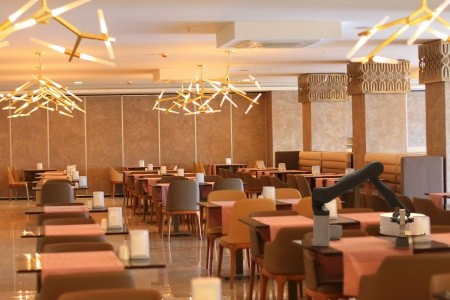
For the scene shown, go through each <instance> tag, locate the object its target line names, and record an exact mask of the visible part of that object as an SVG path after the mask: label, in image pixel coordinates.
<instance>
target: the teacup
mask: <svg viewBox="0 0 450 300" xmlns="http://www.w3.org/2000/svg"><path fill="white" fill-rule="evenodd" d="M342 235H343V225H342V224H341V225H340V224H330V240H339V239H340V238H341V237H342Z"/></svg>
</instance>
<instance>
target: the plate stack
mask: <svg viewBox="0 0 450 300" xmlns="http://www.w3.org/2000/svg"><path fill="white" fill-rule="evenodd" d="M393 213H394V212H387V213H386V212H385V213H380V214H379V221H380V222H379V233H380V234H382V235H385V236H395V237H396V236H400V225H399V224H397V223H393V222H390V217H392V214H393ZM413 216H425V217H426V215H425V214H422V213H415V212H410V217H413ZM410 217H409V218H410ZM408 224H409V222H408V223H407V224H406V225H405V230H408Z"/></svg>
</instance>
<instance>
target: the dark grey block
mask: <svg viewBox="0 0 450 300" xmlns="http://www.w3.org/2000/svg"><path fill="white" fill-rule="evenodd" d="M409 237H410V236H405V237H400V236H395V242H394V249H401V250H404V249H408V250H409V249H410V248H411V247H410V239H409Z"/></svg>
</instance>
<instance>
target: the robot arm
mask: <svg viewBox="0 0 450 300" xmlns="http://www.w3.org/2000/svg"><path fill="white" fill-rule="evenodd" d="M384 166H385V165H384V164H383V163H382V162H381V161H378V160H374V161H371V162H369V163H367V164H365V165H364V166H363V167H362V168H360V169H357V170H355V171H352V172H349V173H347V174H345V175H343V176H341V177H340V178H339V179H338V181H337V182H336V183H335V184H333V185H330V186H327V187H326V186H324V187H323V186H316V187H314V188H313V190H312V192H311V209H312V212H313V217H312V218H313V223H312V224H313V229H312V230H313V231H312V232H313V233H312V234H313V235H312V236H313V239H312V244H313V245H312V246H313V247H314V246H315V247H329V246H330V240H331V239H330V225H331V224H330V223H331V221H330V220H331V219H330V218H331V216H330V215H331V213H330V210H329V209H328V208H327V207H326V204H329V203H331V202H332V201H333V200H335V199H337V198H338V197H340V196H342V195H343V194H346V193H348V192H350V191H352V190H354V189H355V188H357V187H359V186H362V184H364V183H365V182H367V181H369V182H370V183H371V184H372V186H374V187H375V189H376V190H377V191H378V192H379V194H380V195H381V196H382V198H383V199H384V201H385V202H386V204H387V206H388V207H389V208H390V209H394V208H397V207H398V208H399V209H397V210H395V211H394V212H392V213H393V214H392V217H390V222H393V223H397V224H399V225H400V209H405V225H406V224H407V223H408V222H409V223H412V222H414V218H409V217H410V213H411V211H410V209H409V208H407V206H405V205H404V204H403V202H401V200H400V199H399V198H398V196H397V195H396V192H395V191H393V189H392V188H391V187H389V186H388V185H386V184H385V183H384V182H383V181H382V180H381V178H380V177H379V176H381V175H382V174H383V172H385V170H384V169H385V167H384Z"/></svg>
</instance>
